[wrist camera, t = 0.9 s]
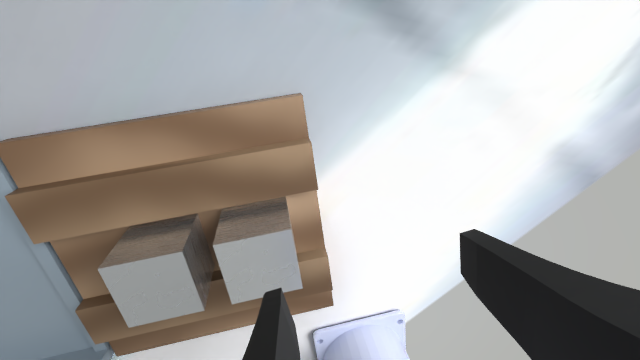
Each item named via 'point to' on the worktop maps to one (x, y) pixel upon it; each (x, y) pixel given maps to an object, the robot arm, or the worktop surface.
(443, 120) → the worktop surface
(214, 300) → the slot board
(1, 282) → the tray
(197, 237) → the chip
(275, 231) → the chip
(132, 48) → the worktop surface
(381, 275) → the worktop surface
